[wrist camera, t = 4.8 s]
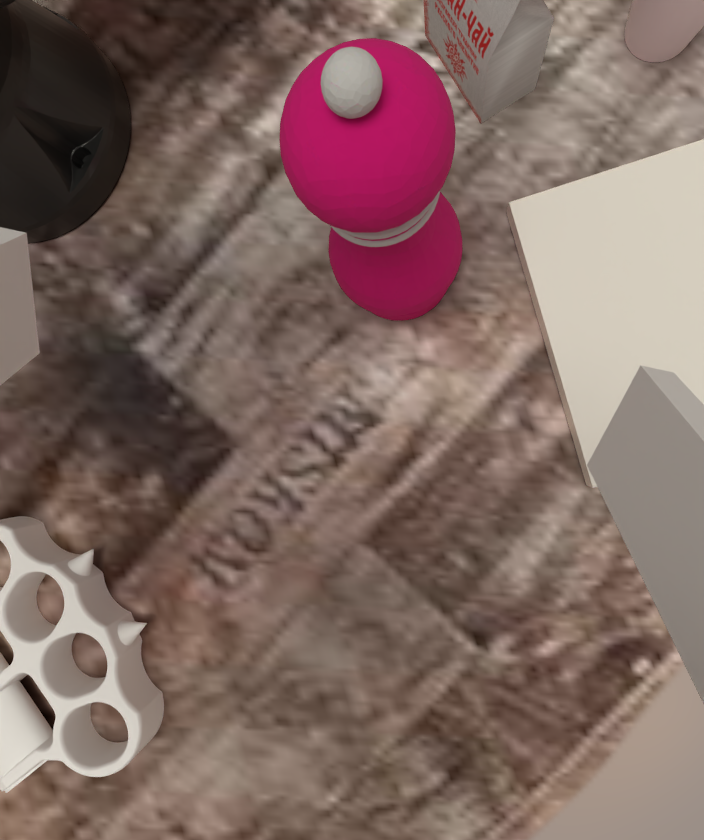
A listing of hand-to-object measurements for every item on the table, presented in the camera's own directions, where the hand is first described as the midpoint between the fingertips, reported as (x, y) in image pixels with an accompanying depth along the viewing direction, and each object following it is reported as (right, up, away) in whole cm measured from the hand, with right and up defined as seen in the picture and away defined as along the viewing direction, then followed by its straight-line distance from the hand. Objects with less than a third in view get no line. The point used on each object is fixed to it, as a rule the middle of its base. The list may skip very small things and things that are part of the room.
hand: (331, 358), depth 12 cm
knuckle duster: (-20, -17, +27) cm, 37 cm away
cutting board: (+18, +5, +20) cm, 27 cm away
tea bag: (+8, +21, +22) cm, 32 cm away
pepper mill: (+4, +8, +23) cm, 25 cm away
